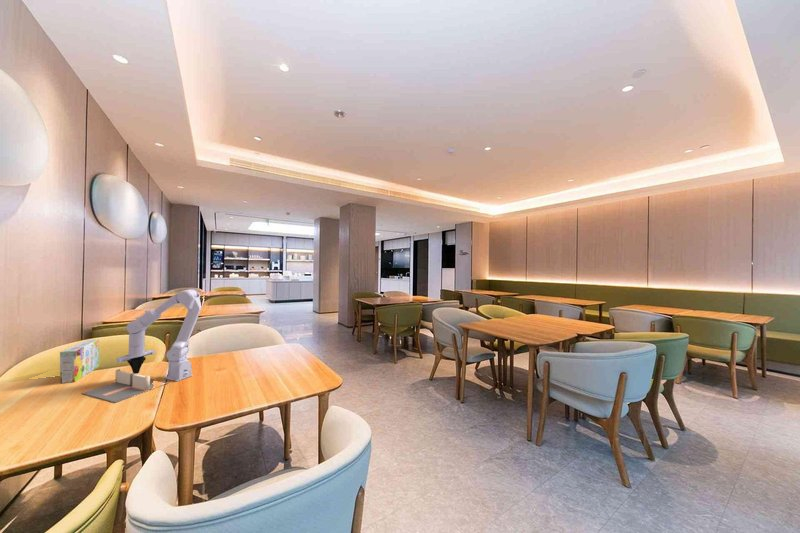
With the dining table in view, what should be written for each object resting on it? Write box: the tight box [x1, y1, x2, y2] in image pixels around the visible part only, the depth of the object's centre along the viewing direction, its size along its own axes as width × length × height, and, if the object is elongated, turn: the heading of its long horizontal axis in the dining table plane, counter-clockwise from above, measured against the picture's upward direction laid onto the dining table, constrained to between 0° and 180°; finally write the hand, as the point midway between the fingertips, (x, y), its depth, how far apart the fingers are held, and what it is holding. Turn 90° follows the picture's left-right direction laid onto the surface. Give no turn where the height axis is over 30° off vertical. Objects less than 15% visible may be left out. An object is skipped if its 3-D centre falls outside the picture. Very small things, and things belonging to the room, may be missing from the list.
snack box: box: [59, 338, 100, 384], centre depth 142 cm, size 21×6×15 cm, turn 25°
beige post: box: [114, 369, 134, 385], centre depth 132 cm, size 12×2×5 cm, turn 73°
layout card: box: [81, 378, 169, 404], centre depth 129 cm, size 22×20×1 cm
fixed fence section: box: [132, 373, 151, 391], centre depth 129 cm, size 10×2×6 cm, turn 73°
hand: (135, 372), depth 138 cm, fingers closed
